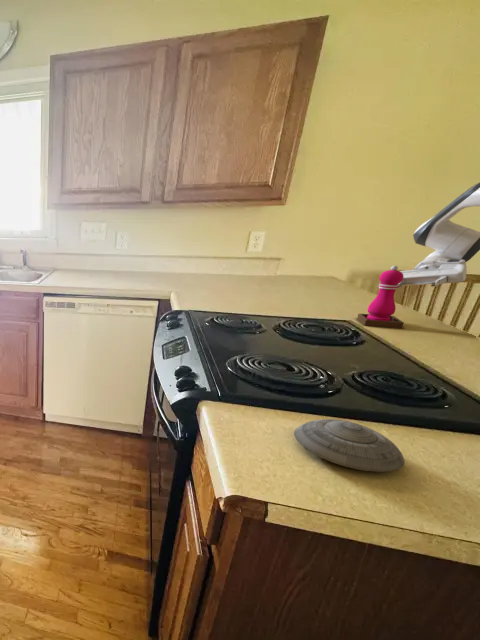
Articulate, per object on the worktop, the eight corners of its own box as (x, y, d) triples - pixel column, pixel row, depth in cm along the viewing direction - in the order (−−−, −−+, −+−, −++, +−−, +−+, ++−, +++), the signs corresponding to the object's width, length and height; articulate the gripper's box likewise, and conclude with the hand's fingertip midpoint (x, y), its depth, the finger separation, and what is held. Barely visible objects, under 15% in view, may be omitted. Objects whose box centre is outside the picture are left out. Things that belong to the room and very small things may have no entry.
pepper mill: (378, 324, 139) (397, 267, 132) (358, 319, 146) (375, 264, 138) (396, 323, 140) (415, 266, 133) (375, 318, 146) (393, 263, 139)
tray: (392, 321, 144) (393, 315, 144) (402, 328, 136) (404, 322, 135) (356, 318, 149) (358, 313, 148) (364, 325, 141) (366, 319, 140)
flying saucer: (325, 424, 79) (332, 399, 77) (422, 465, 66) (433, 437, 64) (273, 440, 74) (279, 415, 73) (366, 488, 61) (377, 458, 59)
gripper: (392, 266, 153) (375, 279, 148) (472, 258, 135) (456, 274, 130) (393, 281, 155) (377, 295, 149) (472, 276, 136) (457, 292, 131)
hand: (414, 285), depth 139 cm, fingers open, 8 cm apart
